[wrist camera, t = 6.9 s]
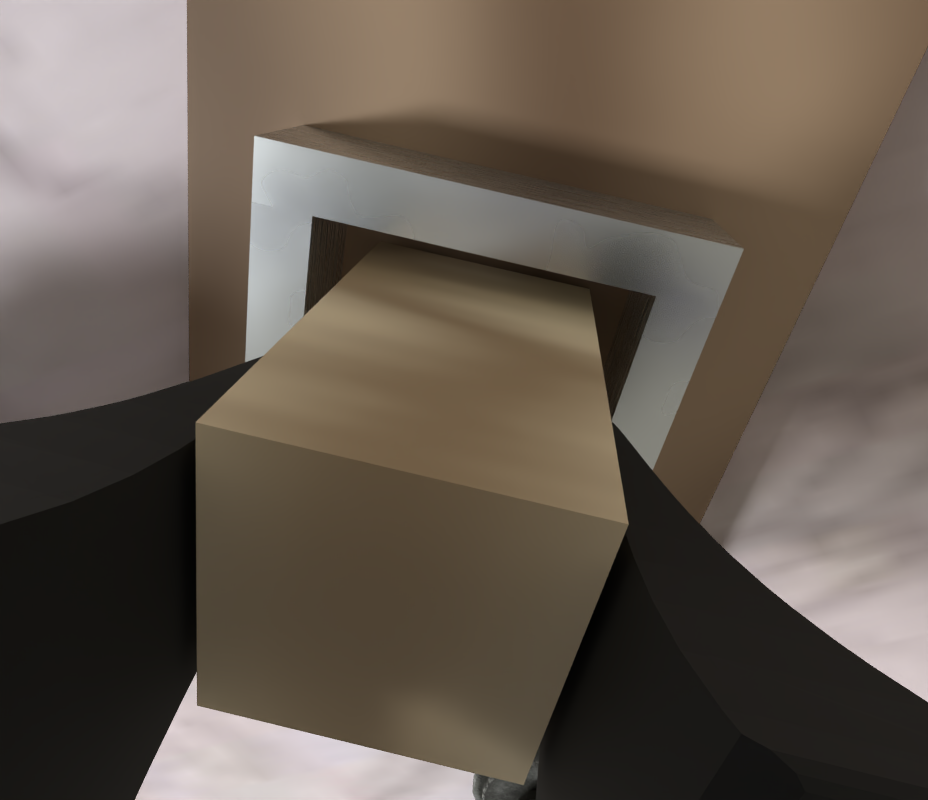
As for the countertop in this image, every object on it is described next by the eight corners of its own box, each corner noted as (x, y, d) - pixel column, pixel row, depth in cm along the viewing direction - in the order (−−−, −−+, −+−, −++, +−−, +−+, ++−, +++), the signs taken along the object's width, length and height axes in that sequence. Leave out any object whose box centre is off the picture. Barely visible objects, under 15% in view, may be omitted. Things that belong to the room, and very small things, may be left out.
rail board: (215, 586, 20) (190, 623, 18) (232, -330, 10) (184, -390, 9) (600, 680, 19) (603, 724, 18) (980, -167, 10) (1046, -203, 9)
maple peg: (356, 422, 14) (197, 705, 8) (379, 240, 12) (195, 423, 6) (536, 464, 14) (523, 785, 8) (589, 288, 12) (628, 524, 6)
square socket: (278, 464, 15) (238, 521, 13) (303, 124, 12) (254, 135, 10) (590, 539, 15) (595, 608, 13) (712, 218, 12) (743, 249, 10)
